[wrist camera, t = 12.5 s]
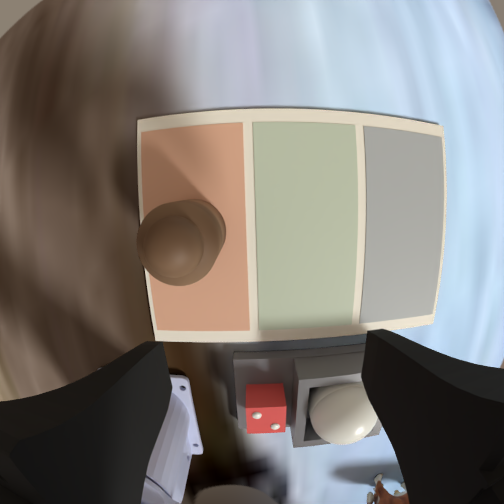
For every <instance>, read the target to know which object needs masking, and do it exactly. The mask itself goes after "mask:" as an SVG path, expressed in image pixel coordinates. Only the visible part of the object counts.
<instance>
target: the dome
mask: <svg viewBox="0 0 504 504" xmlns="http://www.w3.org/2000/svg"><path fill="white" fill-rule="evenodd" d="M308 411H309V415H310V419H311V423H312V426H313V428H314V430H315V432H316V433H317V434H318V435H319V436H320V437H321V438H322V439H324V440H325V441H327V442H329V443H332V444H337V445H346V444H351V443H354V442H357V441H359V440H361V439H362V438H364V437H365V436H366V435H367V434H368V433H369V432H370V431H371V430H372V429H373V427H374V426H375V424H376V421H377V419H378V417H377V415H376V413H375V411H374V409H373V407H372V405H371V403H370V401H369V399H368V397H367V394H366V391H365V388H364V385H363V382H362V381H360V382H354V383H347V384H339V385H331V386H321V387H311V388H309V398H308Z"/></svg>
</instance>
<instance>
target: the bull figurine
mask: <svg viewBox="0 0 504 504" xmlns="http://www.w3.org/2000/svg"><path fill="white" fill-rule="evenodd" d="M382 476H383V474H378V475H377V476H376V477H375V479H374V481H375V483H376V486H375V488H373V490H374V491H375V493H374V495H373V493H372V492H369V493H368V494H367V504H372V503H373V502H374V503H375V504H409V499H408V495H407V490H406V486H405V483H404V482H403V483H402V484H401V485H400V486H401V487H403V488H404V489H405V491H404V492H402V493H400V492H399V491H398V490H395V493H394V496H393V495H391V494H389V493H388V492H387V490H385V489H384V488H383V484H381V478H382Z"/></svg>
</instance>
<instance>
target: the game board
mask: <svg viewBox="0 0 504 504" xmlns="http://www.w3.org/2000/svg"><path fill="white" fill-rule="evenodd" d="M137 165H138V194H139V211H140V225H141V223H142V221H143V219H144V218H145V216H146V215H147V214H148V213H149V212H150V211H152V210H153V209H154V208H156V207H158V206H160V205H162V204H165V203H170V202H176V201H182V200H188V199H199V200H203V201H206V202H208V203H210V204H212V205H213V206H214V207H215V208H216V209H217V210H218V211H219V212H220V213H221V215H222V217H223V219H224V221H225V225H226V239H225V242H224V245H223V247H222V249H221V251H220V253H219V255H218V257H217V259H216V261H215V263H214V265H213V267H212V268H211V270H210V271H209V272H208V274H207V275H206V276H205V277H203V278H202V279H201V280H199V281H197V282H195V283H193V284H190V285H186V286H173V285H168V284H165V283H163V282H160V281H159V280H157V279H155V278H154V277H153V276H152V275H151V274H150V273H149V272H148V271H147V270H146V269H145V275H146V283H147V290H148V297H149V304H150V310H151V317H152V323H153V328H154V334H155V339H156V341H174V342H259V341H283V340H301V339H315V338H327V337H338V336H349V335H358V334H367V331H369V330H376V329H386V330H389V331H390V330H398V329H404V328H411V327H417V326H423V325H429V324H433V321H434V316H435V311H436V305H437V299H438V293H439V287H440V280H441V272H442V264H443V254H444V243H445V228H446V199H447V184H446V155H445V141H444V130H443V126H440V125H436V124H431V123H426V122H420V121H415V120H409V119H403V118H397V117H390V116H383V115H375V114H366V113H357V112H346V111H333V110H316V109H235V110H218V111H204V112H193V113H184V114H175V115H167V116H160V117H153V118H146V119H140V120H138V122H137Z"/></svg>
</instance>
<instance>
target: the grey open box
mask: <svg viewBox="0 0 504 504" xmlns="http://www.w3.org/2000/svg"><path fill="white" fill-rule="evenodd" d="M365 345H366V343H364V344H355V345H346V346H337V347H326V348H314V349H301V350H284V351H261V352H234V355H233V366H234V379H235V392H236V403H237V415H238V426H239V429H244V428H247V434H248V433H277V432H285V427H290V428H291V435H292V442H293V448H296V447H306V446H315V445H323V444H330V443H329V442H327V441H325V440H324V439H322V438H321V437H320V436H319V435H318V434H317V433H316V432H315V430H314V428H313V426H312V423H311V419H310V415H309V411H308V398H309V388H311V387H321V386H331V385H339V384H347V383H354V382H360V381H362V379H361V372H362V366H363V360H364V353H365ZM381 427H382V424H381V422H380V420H379V418H378V419H377V421H376V424H375V426H374V427H373V429H372V430H371V431H370V432H369V433H368V434H367V435H366V436H365V437H370V436H375V435H379V433H380V430H381ZM365 437H364V438H365Z"/></svg>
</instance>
